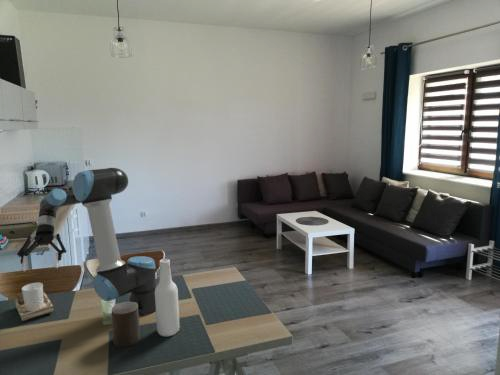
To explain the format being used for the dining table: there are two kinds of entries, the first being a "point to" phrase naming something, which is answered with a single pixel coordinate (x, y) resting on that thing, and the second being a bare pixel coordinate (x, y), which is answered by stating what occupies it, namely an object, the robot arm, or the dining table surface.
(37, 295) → the white cup
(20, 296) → the walnut block
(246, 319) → the dining table surface
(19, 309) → the wooden tray
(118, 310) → the pillar candle
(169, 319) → the alcohol
